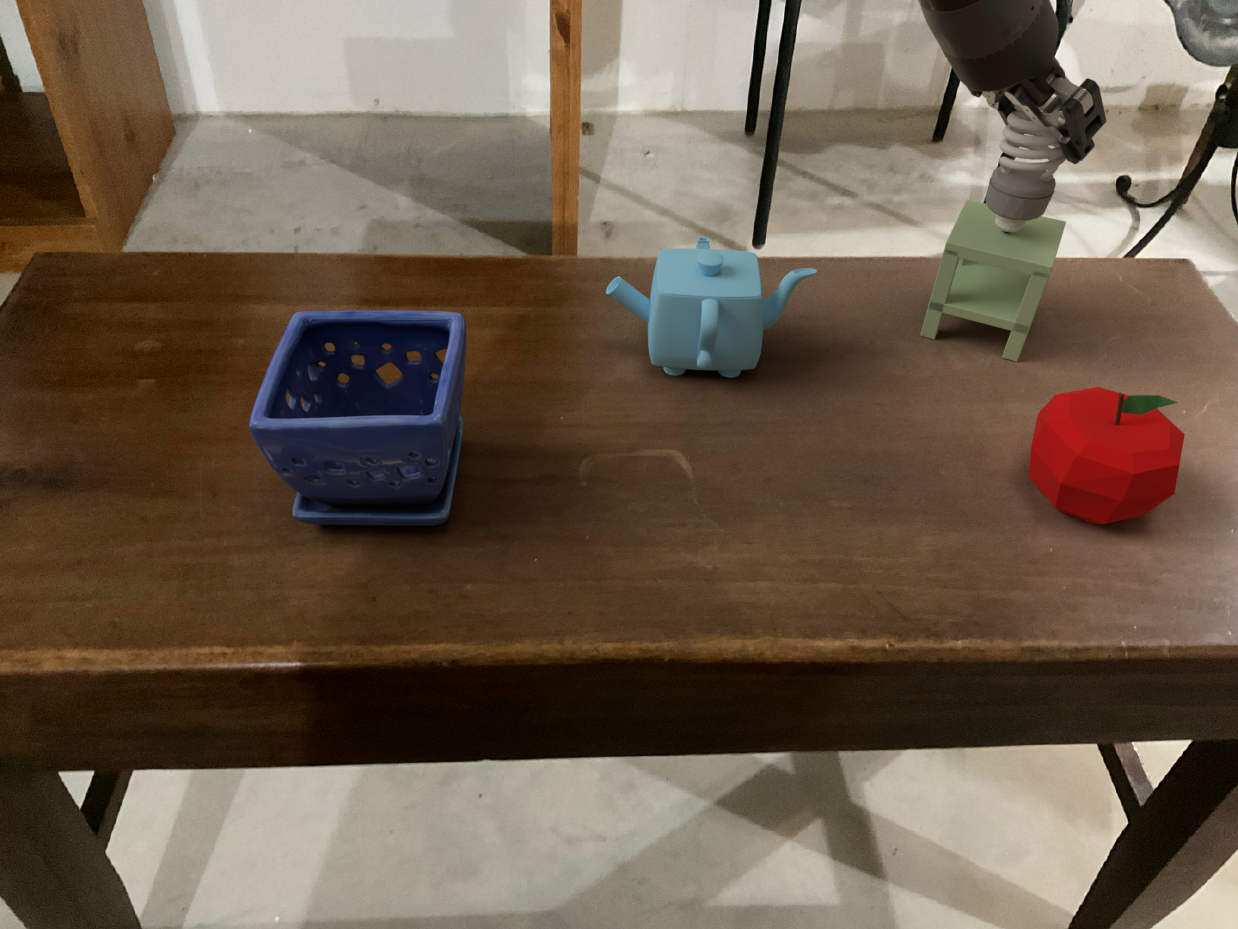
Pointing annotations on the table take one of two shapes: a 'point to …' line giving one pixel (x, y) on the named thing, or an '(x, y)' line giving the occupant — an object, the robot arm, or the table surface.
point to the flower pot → (365, 416)
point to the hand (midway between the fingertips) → (1050, 138)
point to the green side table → (994, 274)
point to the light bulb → (1024, 172)
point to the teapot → (706, 308)
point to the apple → (1105, 454)
